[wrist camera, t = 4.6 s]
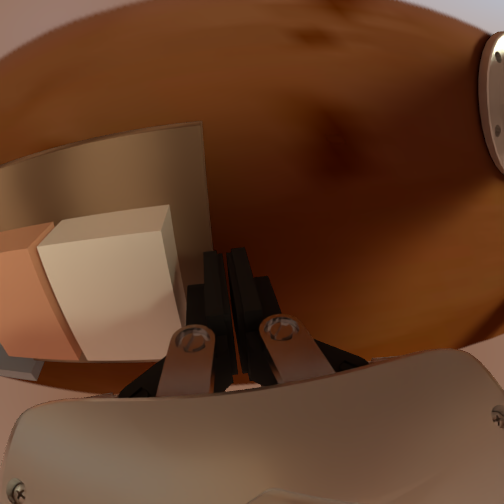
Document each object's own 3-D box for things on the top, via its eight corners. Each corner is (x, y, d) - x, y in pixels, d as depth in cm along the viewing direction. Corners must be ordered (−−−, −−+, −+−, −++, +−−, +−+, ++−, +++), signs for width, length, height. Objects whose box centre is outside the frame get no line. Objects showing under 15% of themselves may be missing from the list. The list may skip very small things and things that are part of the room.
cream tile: (169, 204, 11) (161, 230, 9) (190, 320, 14) (189, 357, 12) (61, 220, 11) (36, 246, 9) (99, 325, 14) (87, 360, 12)
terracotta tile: (53, 221, 11) (27, 248, 9) (91, 326, 14) (79, 360, 12) (-16, 235, 10) (-42, 260, 8) (24, 326, 13) (8, 356, 11)
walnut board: (201, 120, 13) (200, 125, 10) (222, 321, 19) (225, 356, 16) (-11, 169, 11) (-41, 185, 9) (48, 330, 17) (34, 360, 15)
